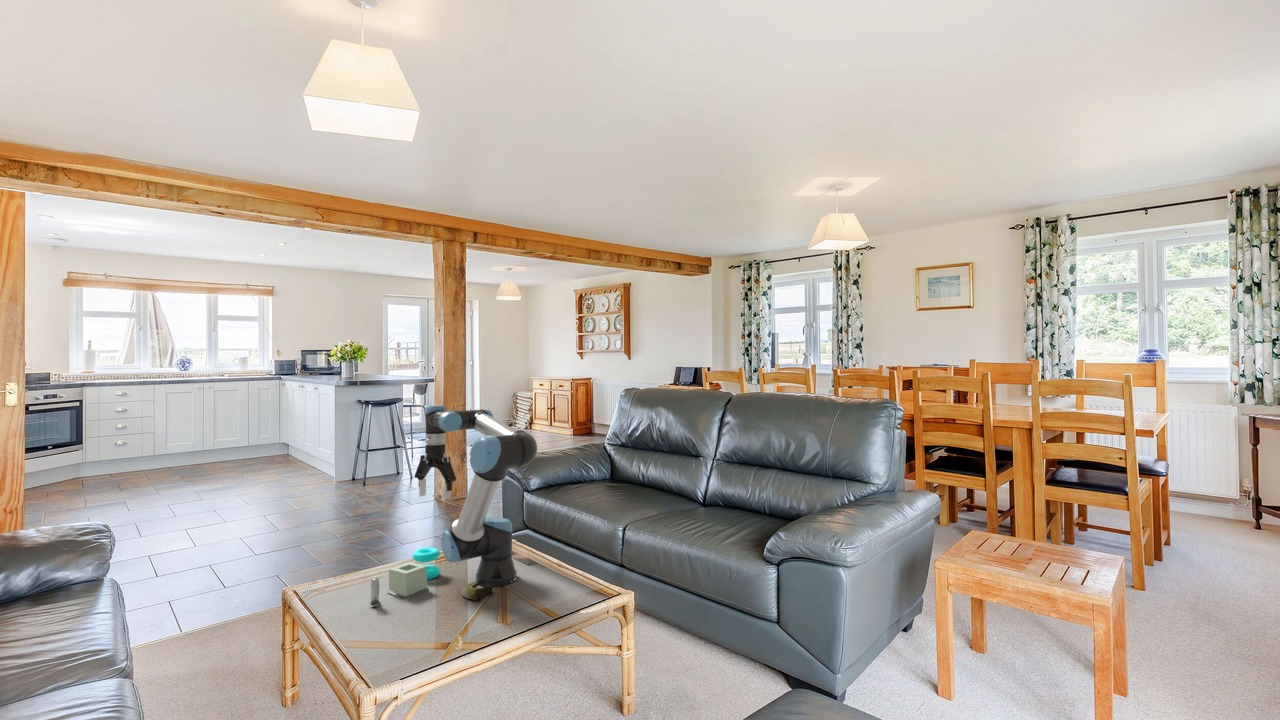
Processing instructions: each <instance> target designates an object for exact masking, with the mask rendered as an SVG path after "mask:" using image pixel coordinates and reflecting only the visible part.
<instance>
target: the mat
mask: <svg viewBox="0 0 1280 720" xmlns="http://www.w3.org/2000/svg"><path fill="white" fill-rule="evenodd" d="M429 590H430V589H429V587H427V588H426V589H424V590H421V591H418V592H416V593H413V594H411V595H408V596H402V595H399V594H396V595H397V596H399V597H398V598H401V599H403V600H406V599H409V598H411V597H414V596H417V595H419V594H421V593H424V592H426V591H429ZM397 596H396V597H397Z"/></svg>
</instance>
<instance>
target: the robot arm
mask: <svg viewBox="0 0 1280 720" xmlns="http://www.w3.org/2000/svg"><path fill="white" fill-rule="evenodd" d="M424 416H425V449H424V450H425V451H424V453H425V454H422V455H420V458H419V462H418V465H417V468H416V471H415V474H414V478H416V479H418V490H419V492H418V493H419V495H418V496H419V497H424V496H426V495H427V479H426V477H427V475H428V473H429V472H430V471H431V470H432V468H434V469H437V470H438V471H439V472H440V474H441V475H442V477H443V479H444V481H445V482H444V488H443V490H444V492H443V495H444V496H443V497H444V501H446V500H447V501H448V500H450V499H452V491H453V482H455V481H457V476H456V474H455V472H454V468H453V465H452V462H451V457H450V456H446V457H445V453H446V444H445V443H446V432H447V433H449V432H456V431H463V430H464V431H465V430H475V431H477V432H479V433H480V434H482V435H484V436H482V437H480V438H478V439H476V440H475V441H474V442H473V444H472V446H471V449H470V452H469V456H470V457H469V463H470V467H471V468H472V470H473V472H474V473H473V474H474V476H473V479H472V480H471V481H472V482H471V485H470V488H469V489H468V494H467V495H466V499H465V502H464V504H463V507H462V510H461V513H460V515H459V517H458V518H456V519H455V520H453V523H452V525H451V528H450V529H446V530H443V531H442V533H441V536H440V544H441V545H440V546H441V551H442V553H443V556H444V558H445V559H446V561H447V562H449V563H452V564H453V563H461V562H463V561H467V560H472V559H476V558H480V562H479V565H478V569H477V572H476V575H475V582H478V584H477V585H479V586H483V587H488V586H491V587H500V586H505V584H506V585H509V584H511V583H510V582H511V581H513V580H514V579H515V578H516V576H517V570H516V568H515V564H514V560H513V533H514V532H513V523H512V520H510V519H509V518H505V517H498V516H487V514H488V512H489V508H491V507H490V506H491V504H492V501H493V498H494V496H495V493H496V491H497V487H498V485H499V483H500V482H501V481H504V480H505V479H506V476H507V474H508V471H509V470H513V469H518V468H524V467H526V466H528V465H529V464H531V463H532V462H533V460H534V459H535V458H536V456H537V453H538V444H537V441H536V439H535V438H534V436H532V434H531V433H529V432H527V431H525V430H522V429H515V428H513V427H511V426H509V425H508V424H506V423H505V422H502V421H501V420H499V419H496V418H495V417H494V414H493V413H492V411H491V410H489V409H482V408H481V409H469V410H467V409H466V410H446V406H445V405H444V404H443V405H442V404H430V405H429V404H428V405H427V406H426V407H425V413H424ZM516 579H517V578H516ZM508 583H509V584H508Z"/></svg>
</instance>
